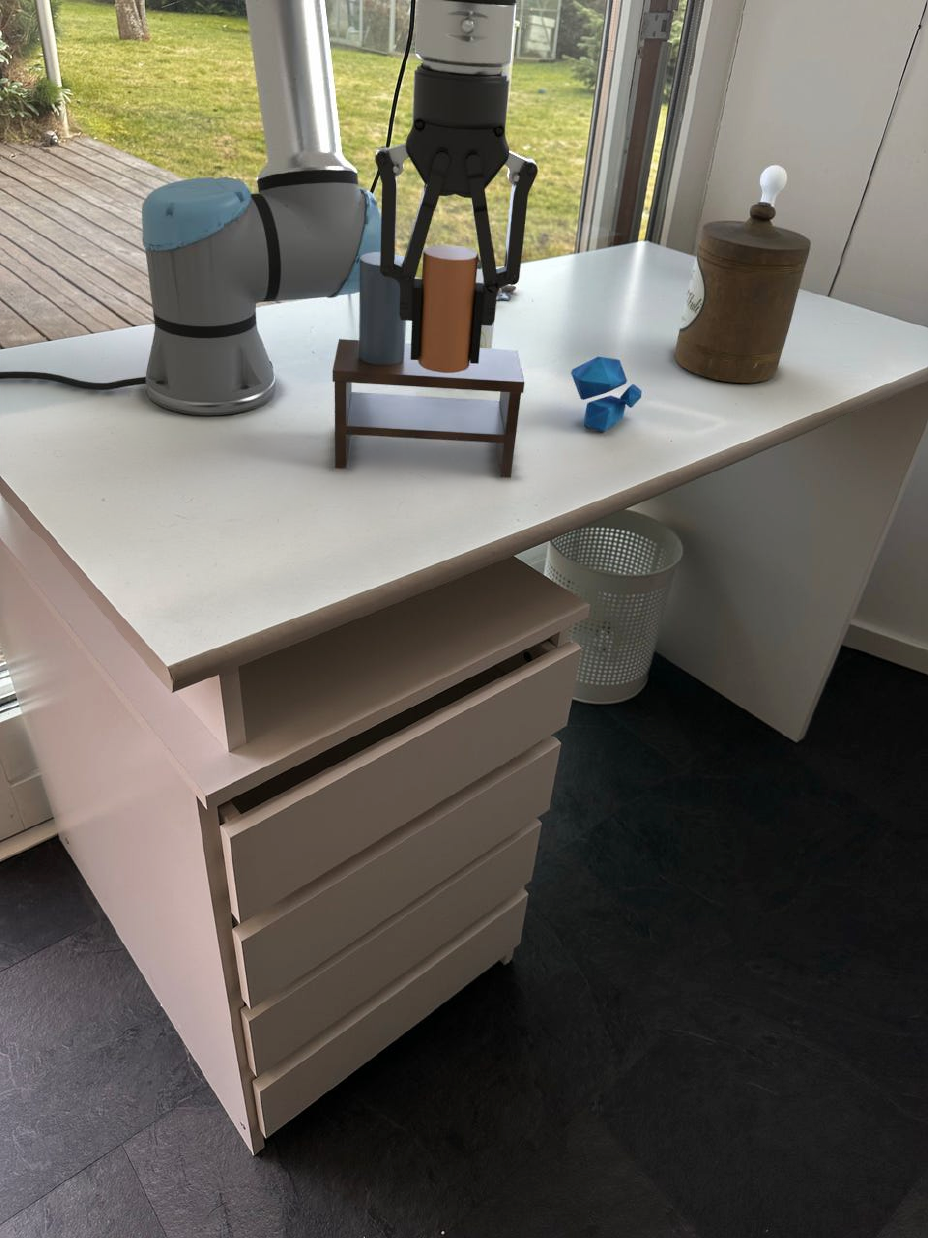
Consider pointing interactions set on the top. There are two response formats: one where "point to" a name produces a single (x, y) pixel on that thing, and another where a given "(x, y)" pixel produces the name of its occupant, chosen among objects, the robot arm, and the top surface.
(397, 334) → the slate tin
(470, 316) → the copper tin
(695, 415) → the top surface
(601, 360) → the crystal
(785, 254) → the wooden container
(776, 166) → the white light bulb
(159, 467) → the top surface
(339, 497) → the top surface
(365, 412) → the desk shelf
